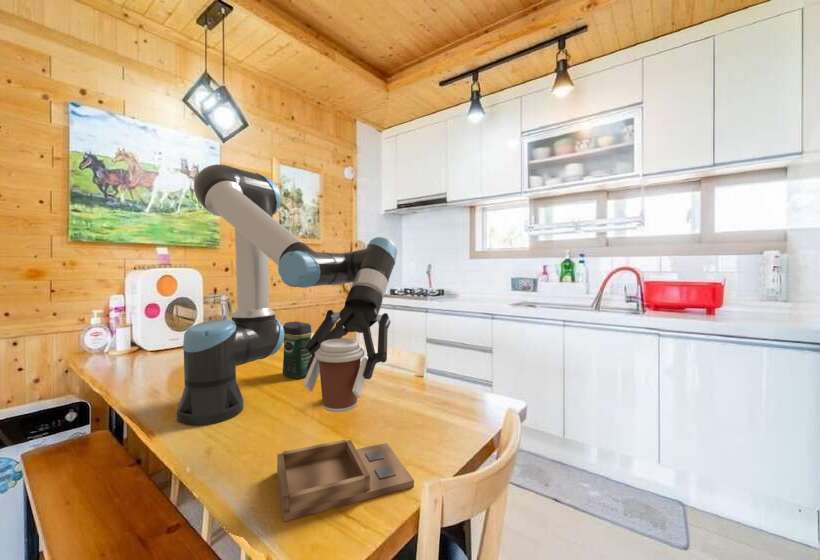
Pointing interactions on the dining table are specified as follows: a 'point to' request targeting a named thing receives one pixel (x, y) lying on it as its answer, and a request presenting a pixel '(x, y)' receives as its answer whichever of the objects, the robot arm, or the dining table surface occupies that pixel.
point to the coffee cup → (339, 373)
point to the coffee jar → (296, 349)
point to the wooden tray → (336, 476)
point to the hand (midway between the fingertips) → (331, 391)
